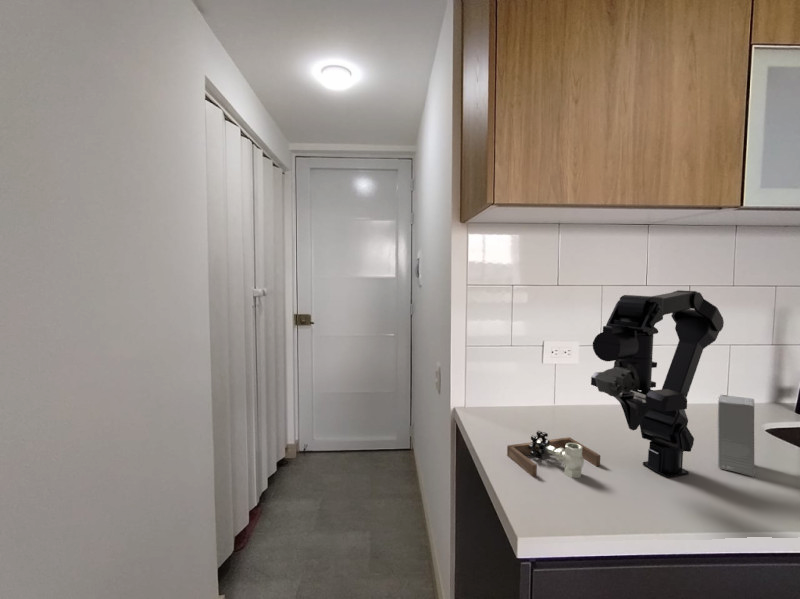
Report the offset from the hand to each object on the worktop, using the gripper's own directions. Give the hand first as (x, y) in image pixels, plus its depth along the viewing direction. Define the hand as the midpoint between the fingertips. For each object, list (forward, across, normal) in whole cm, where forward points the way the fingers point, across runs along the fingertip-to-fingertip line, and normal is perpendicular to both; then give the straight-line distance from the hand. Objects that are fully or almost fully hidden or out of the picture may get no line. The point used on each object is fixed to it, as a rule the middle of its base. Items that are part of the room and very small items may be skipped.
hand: (632, 429), depth 84 cm
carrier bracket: (+12, -13, -9) cm, 20 cm away
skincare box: (+12, 0, +30) cm, 32 cm away
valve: (+12, -11, -10) cm, 19 cm away
